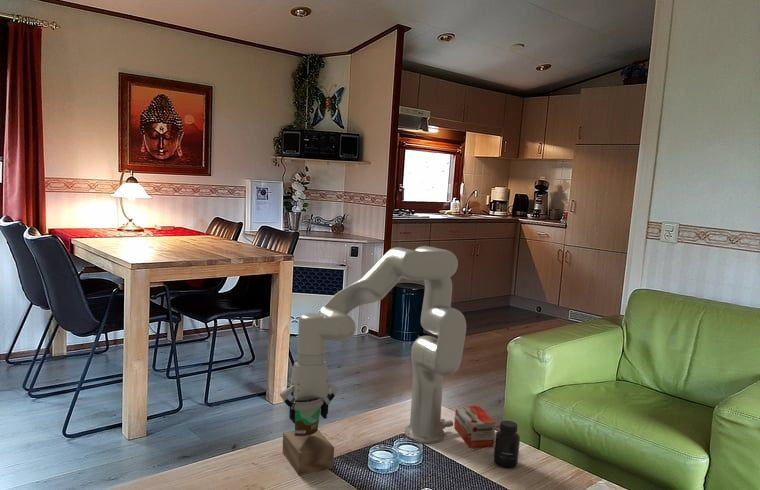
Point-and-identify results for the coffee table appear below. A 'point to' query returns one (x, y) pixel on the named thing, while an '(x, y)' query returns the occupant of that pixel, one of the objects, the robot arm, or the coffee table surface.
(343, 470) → the coffee table surface
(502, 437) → the supplement bottle
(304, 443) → the block
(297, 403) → the food container
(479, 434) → the medicine box
